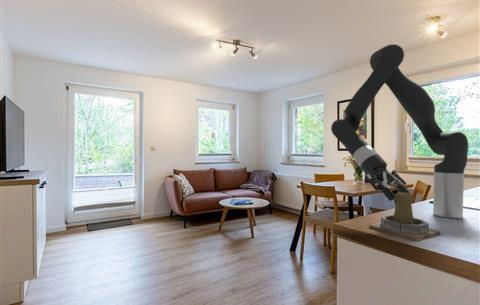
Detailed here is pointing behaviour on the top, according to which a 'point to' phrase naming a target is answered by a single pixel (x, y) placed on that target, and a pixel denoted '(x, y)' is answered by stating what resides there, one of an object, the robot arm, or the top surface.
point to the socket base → (405, 235)
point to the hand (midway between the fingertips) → (401, 198)
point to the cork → (403, 208)
